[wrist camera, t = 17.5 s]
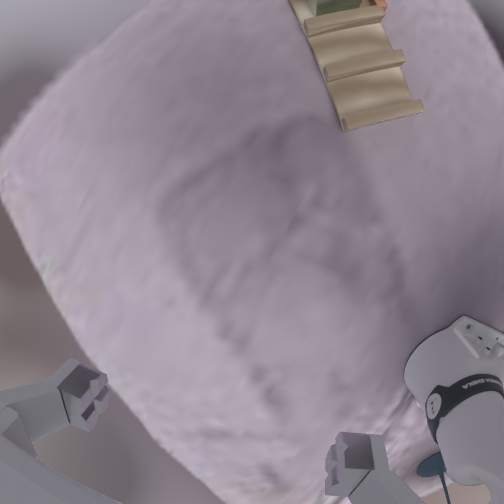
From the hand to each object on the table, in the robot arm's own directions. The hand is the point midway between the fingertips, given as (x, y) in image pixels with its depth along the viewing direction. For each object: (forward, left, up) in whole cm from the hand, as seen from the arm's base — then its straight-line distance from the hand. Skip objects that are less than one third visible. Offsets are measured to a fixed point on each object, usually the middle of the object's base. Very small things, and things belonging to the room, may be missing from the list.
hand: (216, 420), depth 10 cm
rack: (-5, -24, -34) cm, 42 cm away
